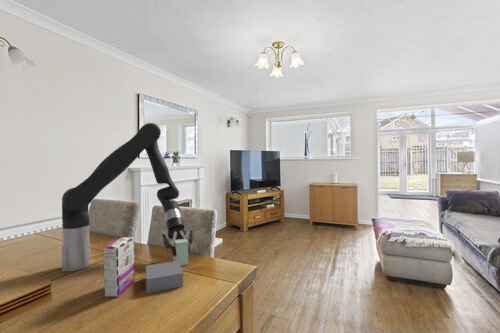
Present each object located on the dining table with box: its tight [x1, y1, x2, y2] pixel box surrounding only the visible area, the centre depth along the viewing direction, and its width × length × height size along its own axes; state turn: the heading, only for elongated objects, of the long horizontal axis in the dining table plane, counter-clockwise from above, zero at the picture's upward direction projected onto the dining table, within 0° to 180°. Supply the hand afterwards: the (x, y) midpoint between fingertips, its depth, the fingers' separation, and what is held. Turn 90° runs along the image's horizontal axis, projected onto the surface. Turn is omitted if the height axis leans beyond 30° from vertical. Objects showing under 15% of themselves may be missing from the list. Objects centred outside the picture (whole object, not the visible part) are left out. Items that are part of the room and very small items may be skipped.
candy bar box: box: [103, 236, 136, 298], centre depth 84 cm, size 11×5×16 cm, turn 179°
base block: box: [145, 261, 184, 294], centre depth 89 cm, size 12×12×5 cm
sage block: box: [172, 239, 189, 267], centre depth 106 cm, size 5×5×10 cm
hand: (182, 254), depth 104 cm, fingers closed on sage block, 5 cm apart
